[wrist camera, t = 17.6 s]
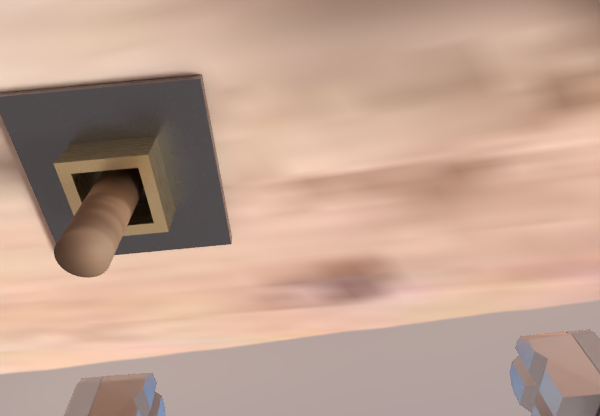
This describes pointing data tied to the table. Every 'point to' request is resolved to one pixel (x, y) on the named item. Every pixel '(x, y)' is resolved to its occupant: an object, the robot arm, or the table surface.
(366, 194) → the table surface
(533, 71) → the table surface
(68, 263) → the rail post
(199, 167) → the peg socket base
